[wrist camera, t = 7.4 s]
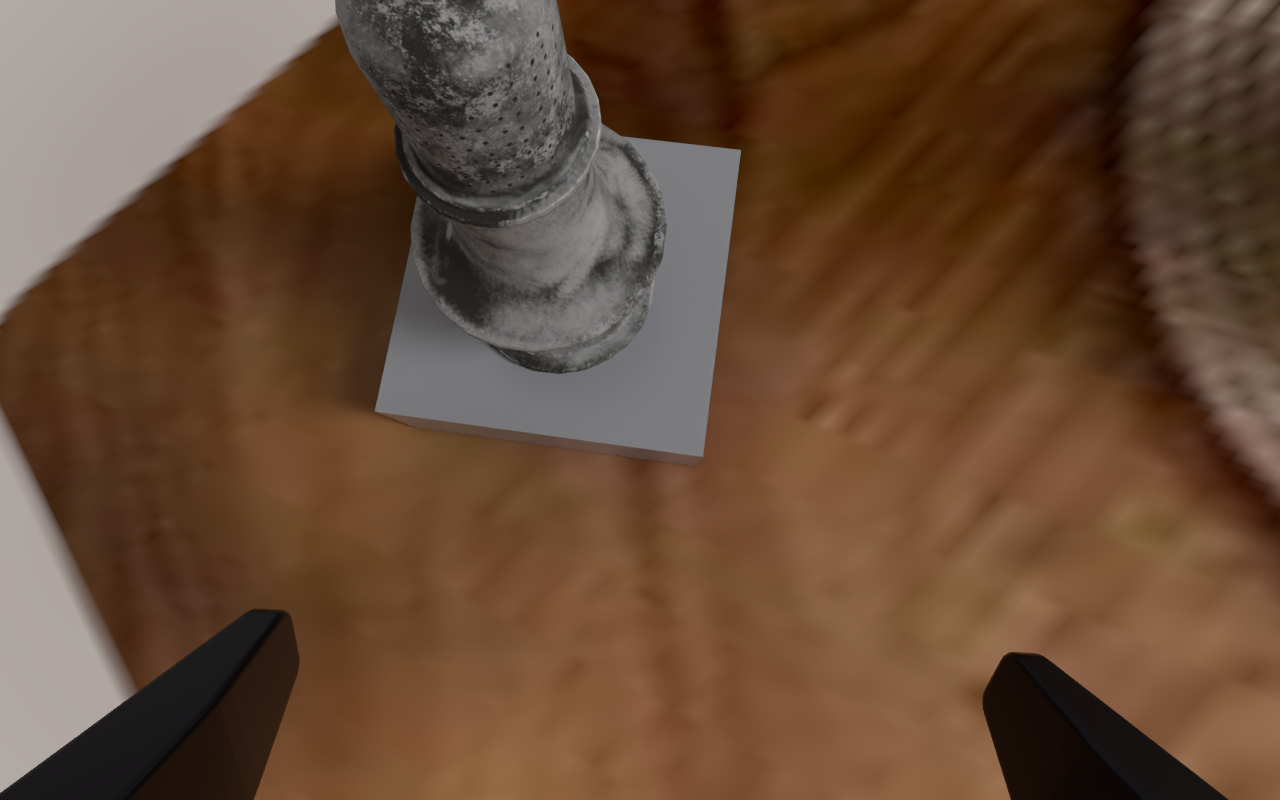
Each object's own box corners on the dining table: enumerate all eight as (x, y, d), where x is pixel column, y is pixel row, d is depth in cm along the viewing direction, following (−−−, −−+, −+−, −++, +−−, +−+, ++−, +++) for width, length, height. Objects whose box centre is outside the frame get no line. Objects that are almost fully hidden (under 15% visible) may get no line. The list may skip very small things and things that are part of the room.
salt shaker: (688, 211, 19) (737, -312, 7) (634, 408, 18) (586, 181, 6) (492, 165, 19) (230, -402, 7) (428, 355, 18) (9, 46, 6)
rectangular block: (696, 466, 20) (702, 457, 18) (414, 427, 21) (374, 411, 18) (729, 200, 22) (740, 150, 19) (467, 168, 23) (438, 115, 20)
